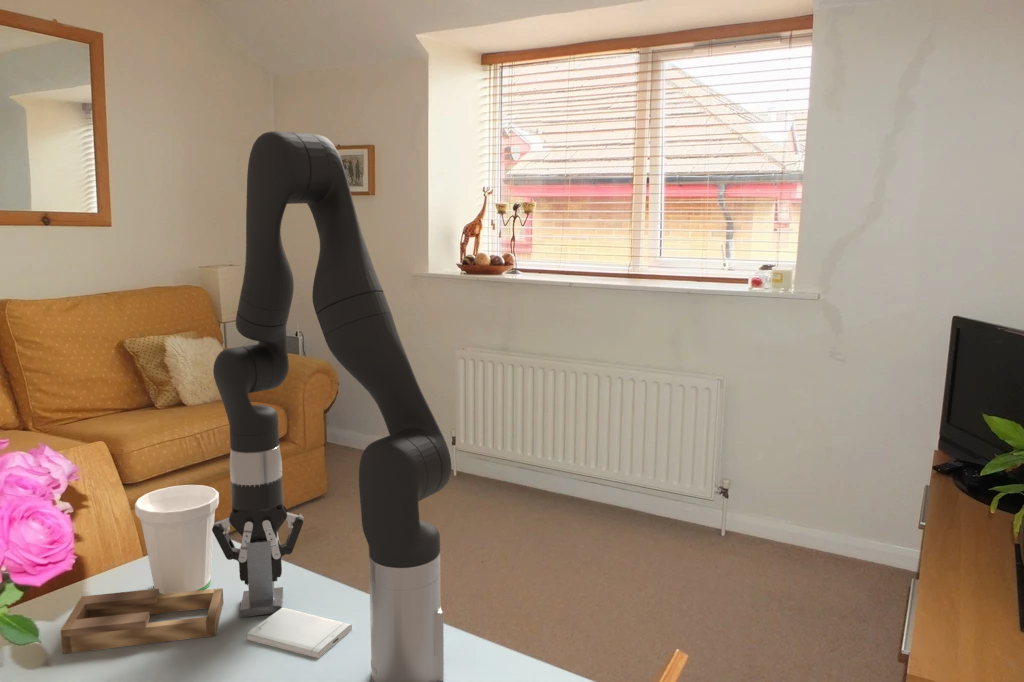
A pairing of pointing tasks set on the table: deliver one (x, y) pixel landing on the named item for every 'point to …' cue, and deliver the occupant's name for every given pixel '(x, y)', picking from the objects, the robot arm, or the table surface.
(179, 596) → the rail
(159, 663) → the table surface
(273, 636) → the hard drive
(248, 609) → the t peg
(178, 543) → the cup
